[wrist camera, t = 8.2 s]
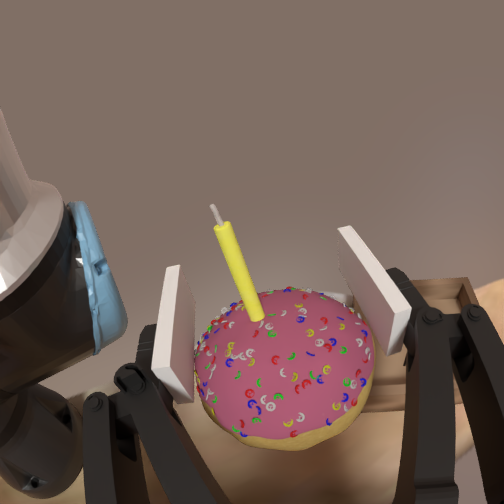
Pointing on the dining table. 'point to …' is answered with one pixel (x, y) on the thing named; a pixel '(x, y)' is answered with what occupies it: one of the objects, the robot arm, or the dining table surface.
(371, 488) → the dining table surface
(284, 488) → the dining table surface
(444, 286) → the tray
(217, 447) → the dining table surface
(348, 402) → the cupcake
